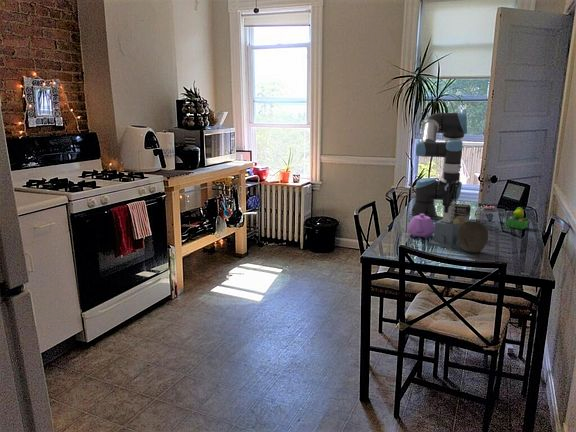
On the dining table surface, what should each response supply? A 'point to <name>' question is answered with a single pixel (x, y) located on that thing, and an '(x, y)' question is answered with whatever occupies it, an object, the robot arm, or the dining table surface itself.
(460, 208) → the coffee box
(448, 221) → the column
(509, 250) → the dining table surface
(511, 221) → the fruit basket
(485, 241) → the brown round ball
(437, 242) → the stand base
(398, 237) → the dining table surface
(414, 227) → the teapot
